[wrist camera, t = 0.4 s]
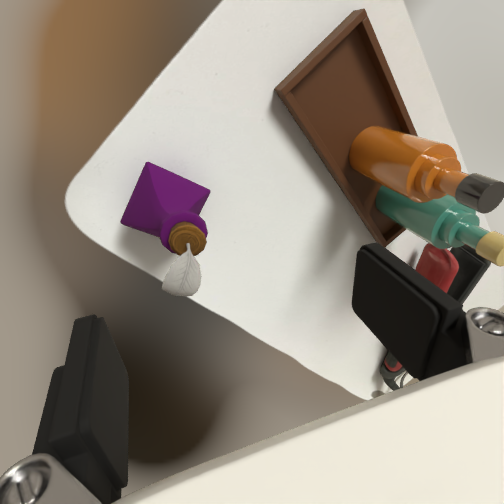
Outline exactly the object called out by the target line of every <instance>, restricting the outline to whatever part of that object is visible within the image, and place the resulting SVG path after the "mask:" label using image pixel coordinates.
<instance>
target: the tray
mask: <svg viewBox="0 0 504 504" xmlns="http://www.w3.org/2000/svg"><path fill="white" fill-rule="evenodd" d="M274 90H275V91H276V93H277V94H278V96H279V97H280V99H281V100H282V102H283V103H284V105H285V106H286V108H287V109H288V111H289V112H290V114H291V115H292V116H293V118H294V119H295V121H296V122H297V124H298V125H299V127H300V128H301V130H302V131H303V133H304V134H305V136H306V137H307V139H308V140H309V142H310V143H311V145H312V146H313V148H314V149H315V151H316V152H317V154H318V155H319V157H320V158H321V160H322V161H323V163H324V164H325V166H326V167H327V169H328V170H329V172H330V173H331V175H332V176H333V178H334V179H335V181H336V182H337V184H338V185H339V187H340V188H341V189H342V191H343V192H344V194H345V195H346V197H347V198H348V200H349V201H350V203H351V204H352V206H353V207H354V209H355V210H356V212H357V213H358V215H359V216H360V218H361V219H362V221H363V222H364V224H365V225H366V227H367V228H368V230H369V231H370V233H371V234H372V236H373V237H374V239H375V240H376V242H377V243H379V244H380V245H382V246H383V247H384V248H385V247H386V246H387V245H388V244H389V243H391V242H392V241H393V240H394V239H395V238H396V237H398V236H399V235H400V234H401V233H402V232H403V231H405V230H406V229H405V228H404V227H402V226H401V225H399V224H397V223H396V222H394V221H392V220H391V219H389V218H388V217H386V216H384V215H383V214H381V213H380V212H379V211H378V210H377V208H376V202H375V201H376V195H377V193H378V191H379V189H380V187H381V186H382V185H380V184H378V183H376V182H374V181H372V180H370V179H368V178H366V177H364V176H362V175H360V174H358V173H357V172H355V171H354V170H353V169H352V167H351V165H350V161H349V152H350V148H351V145H352V143H353V141H354V140H355V138H356V137H357V135H358V134H359V133H360V132H362V131H363V130H364V129H366V128H368V127H371V126H381V127H384V128H388V129H392V130H395V131H399V132H403V133H406V134H410V135H414V136H417V133H416V131H415V128H414V126H413V124H412V121H411V119H410V116H409V114H408V112H407V109H406V107H405V104H404V102H403V100H402V97H401V95H400V92H399V90H398V88H397V85H396V83H395V80H394V78H393V76H392V73H391V71H390V68H389V66H388V64H387V61H386V59H385V56H384V54H383V52H382V49H381V47H380V44H379V42H378V40H377V37H376V35H375V32H374V30H373V28H372V25H371V23H370V20H369V18H368V16H367V13H366V11H365V9H360V10H355V11H353V12H352V13H351V14H350V15H349V16H348V17H347V18H346V19H345V20H344V21H343V22H342V23H341V24H340V25H339V26H338V27H337V28H336V29H335V30H334V31H333V32H332V33H331V34H330V35H329V36H328V37H327V38H325V39H324V40H323V41H322V42H321V43H320V44H319V45H318V46H317V47H316V48H315V49H314V50H313V51H312V52H311V53H310V54H309V55H308V56H307V57H306V58H305V59H304V60H303V61H302V62H301V63H300V64H299V65H298V66H297V67H296V68H295V69H294V70H293V71H292V72H291V73H290V74H289V75H288V76H287V77H286V78H285V79H284V80H283V81H282V82H281V83H280V84H279V85H278V86H277V87H276V88H275V89H274Z"/></svg>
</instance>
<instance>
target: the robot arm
mask: <svg viewBox="0 0 504 504" xmlns="http://www.w3.org/2000/svg"><path fill="white" fill-rule="evenodd" d="M462 307H463V305H462V304H461V303H459V302H458V301H457V300H455V299H454V298H452V297H451V296H450V295H448V294H447V293H446V292H444V291H443V290H442V289H440V288H439V287H438V286H436V285H435V284H433V283H432V282H431V281H429V280H428V279H427V278H425V277H424V276H423V275H421V274H420V273H418V272H417V271H416V270H414V269H413V268H412V267H410V266H409V265H408V264H406V263H405V262H403V261H402V260H401V259H399V258H398V257H397V256H395V255H394V254H393V253H391V252H390V251H389V250H387V249H386V248H384V247H383V246H382V245H380V244H379V243H371V244H368V245H364V246H362V247H361V248H360V250H359V251H358V252H357V258H356V267H355V277H354V286H353V296H352V308H353V310H354V312H355V313H356V314H357V316H358V317H359V318H360V319H361V320H362V321H363V322H364V323H365V325H366V326H367V327H368V328H369V329H370V330H371V331H372V332H373V334H374V335H375V336H376V337H377V338H378V339H379V340H380V341H381V343H382V344H383V345H384V346H385V347H386V348H387V349H388V350H389V352H390V353H391V354H392V355H393V356H394V357H395V358H396V359H397V361H398V362H399V363H400V364H401V365H402V366H403V367H404V368H405V370H406V371H407V372H408V373H409V374H410V375H411V376H412V377H414V378H417V379H418V380H419V382H416V383H414V384H411V385H408V386H406V387H403V388H400V389H398V390H395V391H392V392H389V393H387V394H384V395H381V396H379V397H376V398H373V399H370V400H368V401H365V402H362V403H360V404H357V405H354V406H352V407H350V408H347V409H344V410H341V411H339V412H336V413H333V414H331V415H328V416H325V417H323V418H320V419H317V420H315V421H312V422H309V423H307V424H304V425H301V426H299V427H296V428H293V429H291V430H288V431H286V432H283V433H280V434H278V435H275V436H272V437H270V438H267V439H264V440H262V441H259V442H257V443H254V444H251V445H249V446H246V447H244V448H241V449H238V450H236V451H233V452H230V453H228V454H225V455H223V456H220V457H217V458H215V459H212V460H210V461H207V462H205V463H202V464H200V465H197V466H195V467H192V468H190V469H187V470H185V471H182V472H180V473H177V474H175V475H172V476H170V477H167V478H165V479H162V480H160V481H157V482H155V483H153V484H151V485H148V486H146V487H144V488H142V489H139V490H137V491H135V492H133V493H131V494H128V495H126V496H125V497H123V498H121V488H124V487H126V486H127V482H128V406H129V401H128V399H129V397H128V396H129V393H128V392H129V379H128V374H127V371H126V368H125V366H124V363H123V361H122V359H121V357H120V354H119V352H118V350H117V348H116V345H115V343H114V341H113V338H112V336H111V334H110V331H109V329H108V327H107V325H106V322H105V320H104V318H103V317H101V318H97V316H96V315H90V316H86V317H82V318H78V319H76V320H75V321H74V325H73V330H72V334H71V339H70V344H69V348H68V352H67V357H66V362H65V365H64V366H60V367H57V368H56V369H55V370H54V372H53V374H52V378H51V382H50V386H49V390H48V394H47V398H46V402H45V406H44V410H43V414H42V418H41V422H40V426H39V429H38V433H37V437H36V441H35V445H34V449H33V453H32V455H30V456H28V457H26V458H24V459H22V460H20V461H18V462H17V463H15V464H14V465H13V466H11V467H10V468H9V469H8V470H7V471H6V472H5V473H4V474H3V475H2V476H1V477H0V504H504V313H503V312H500V311H498V310H495V309H491V308H484V307H478V308H473V309H470V310H469V311H468V312H467V313H465V312H464V311H463V310H462Z"/></svg>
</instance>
